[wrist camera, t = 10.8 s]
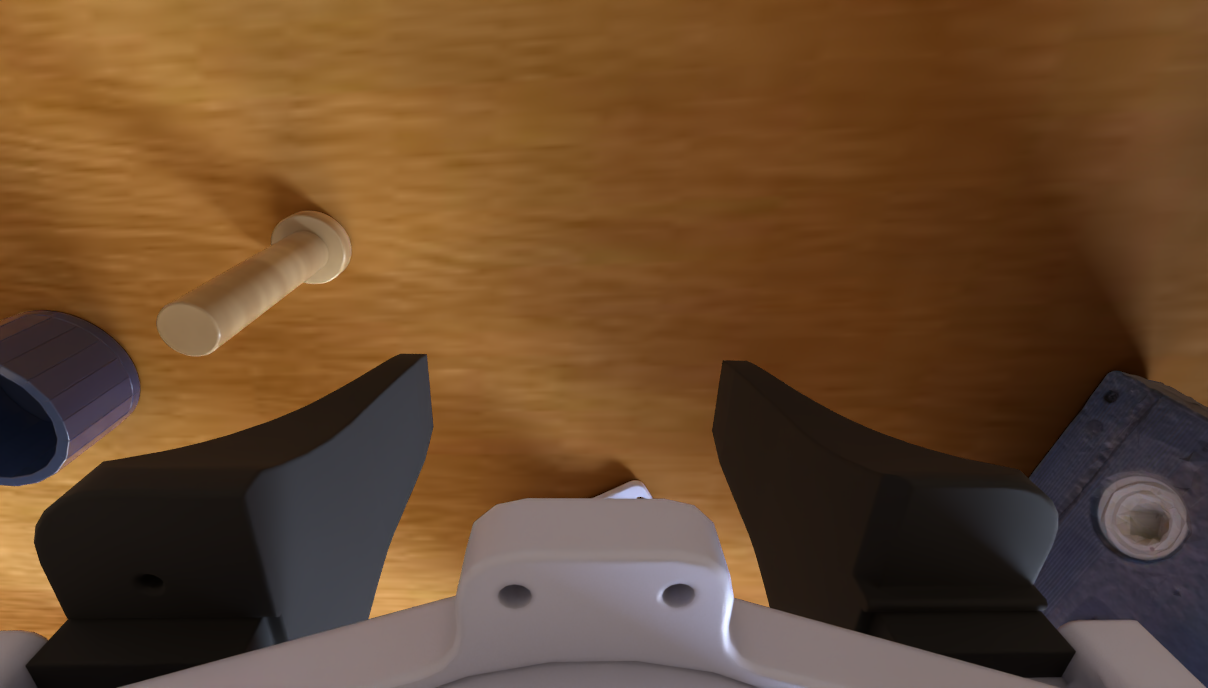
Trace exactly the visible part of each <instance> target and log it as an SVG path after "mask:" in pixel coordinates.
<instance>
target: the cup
mask: <svg viewBox="0 0 1208 688" xmlns="http://www.w3.org/2000/svg"><path fill="white" fill-rule="evenodd" d="M139 396H140V380H139V376H138V373H137V370H136V368H135V366H134V364H133V362H132V360H131V358H130V357H129V356H128V354H127V353H126V352H125V350H124V349H123V348H122V347H121V346H120V345H119V344H118V343H117V342H116V341H115V340H114V339H113V338H112V337H111V336H109V335H108V334H107V333H105V332H104V331H103V330H101V329H100V328H98V327H96V326H95V325H93V324H91V323H89V322H87V321H85V320H83V319H80V318H78V317H75V316H72V315H69V314H65V313H61V312H56V311H46V310H38V311H28V312H23V313H20V314H17V315H14V316H12V317H9V318H6V319H3V320H1V321H0V485H5V486H21V485H27V484H33V483H38V482H41V481H43V480H45V479H46V478H48V477H50V476H52V475H54V474H56V473H57V472H58V471H60V470H61V469H62V468H64V467H65V466H66V465H67V464H69V463H70V462H71V461H73V460H74V459H75V458H77V457H78V456H79V455H80V454H82V453H83V452H84V451H86V450H87V449H88V448H89V447H91V446H92V445H93V444H95V443H96V442H97V441H99V440H100V439H101V438H102V437H104V436H105V435H106V434H108V433H109V432H110V431H111V430H113V429H114V428H115V427H117V426H118V425H119V424H120V423H121V422H122V421H123V420H125V419H126V418H127V417H128V416H129V415H130V414H131V413H132V412H133V410H134V409H135V407H136V405H137V403H138V400H139Z"/></svg>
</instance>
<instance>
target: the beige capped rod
mask: <svg viewBox="0 0 1208 688" xmlns="http://www.w3.org/2000/svg"><path fill="white" fill-rule="evenodd" d="M351 253H352V249H351V243H350V239H349V237H348V235H347V233H346V231H345V230H344V228H343V227H342V226H341V225H340V224H339V223H338V222H337V221H336V220H334V219H333V218H331V217H330V216H328V215H326V214H324V213H321V212H317V211H300V212H297V213H295V214H293V215H291V216H289V217H287V218H285V219H283V220H282V221H280V222H279V223H278V224H277V226H276V227H275V229H274V230H273V233H272V237H271V246H269V247H268V248H266V249H264V250H262V251H261V252H259V253H257V254H255V255H254V256H252V257H250V258H248V259H246V260H245V261H243V262H241V263H239V264H238V265H236V266H234V267H232V268H231V269H229V270H227V271H225V272H224V273H222V274H220V275H218V276H216V277H215V278H213V279H211V280H209V281H208V282H206V283H204V284H202V285H201V286H199V287H197V288H195V289H194V290H192V291H190V292H188V293H186V294H185V295H183V296H181V297H179V298H178V299H176V300H174V301H172V302H171V303H169V304H167V305H166V306H164V307H163V308H162V309H161V310H160V312H159V314H158V316H157V321H156V324H157V330H158V332H159V334H160V336H161V338H162V339H163V341H164V342H165V343H166V344H167V345H168V346H169V347H171V348H172V349H174V350H175V351H177V352H179V353H182V354H184V355H188V356H205V355H208V354H210V353H212V352H213V351H215V350H216V349H217V348H219V347H220V346H221V345H223V344H224V343H225V342H226V341H228V340H229V339H230V338H232V337H233V336H234V335H236V334H237V333H238V332H239V331H241V330H242V329H243V328H245V327H246V326H247V325H249V324H250V323H251V322H252V321H254V320H255V319H256V318H258V317H259V316H260V315H261V314H263V313H264V312H265V311H267V310H268V309H269V308H271V307H272V306H273V305H274V304H276V303H277V302H278V301H280V300H281V299H282V298H284V297H285V296H286V295H287V294H289V293H290V292H291V291H293V290H294V289H295V288H297V287H298V286H299V285H300V284H302V283H303V282H304V283H309V284H322V283H326V282H329V281H331V280H333V279H334V278H336V277H337V276H338V275H339V274H340V273H341V272H342V271H344V270H345V268H346V267H347V266H348V264H349V262H350V259H351Z"/></svg>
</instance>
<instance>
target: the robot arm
mask: <svg viewBox="0 0 1208 688" xmlns="http://www.w3.org/2000/svg"><path fill="white" fill-rule="evenodd" d="M432 430H433V417H432V406H431V395H430V384H429V373H428V362H427V354H399V355H397V356H395V357H393V358H391V359H389V360H387V361H386V362H384V363H382V364H381V365H379V366H377V367H376V368H374V369H372V370H371V371H369V372H367V373H366V374H364V375H362V376H361V377H359V378H357V379H355V380H354V381H352V382H350V383H349V384H347V385H345V386H343V387H341V388H340V389H338V390H336V391H334V392H332V393H330V394H328V395H327V396H325V397H323V398H321V399H319V400H317V401H315V402H313V403H311V404H309V405H307V406H305V407H303V408H301V409H298V410H296V411H294V412H291V413H289V414H287V415H284V416H282V417H279V418H277V419H274V420H272V421H269V422H266V423H263V424H260V425H257V426H254V427H251V428H248V429H245V430H242V431H240V432H237V433H234V434H231V435H227V436H224V437H220V438H217V439H213V440H209V441H206V442H202V443H198V444H193V445H189V446H185V447H181V448H177V449H172V450H167V451H162V452H157V453H151V454H146V455H140V456H134V457H129V458H123V459H118V460H111V461H104V462H102V463H101V464H100V465H99V466H97V467H96V468H95V469H94V470H93V471H91V472H90V473H89V474H88V475H87V476H85V477H84V478H83V479H82V480H81V481H79V482H78V483H77V484H76V485H75V486H73V487H72V488H71V489H70V490H69V491H67V492H66V493H65V494H64V495H63V496H61V497H60V498H59V499H58V500H57V501H55V502H54V503H53V504H52V505H51V506H50V507H48V508H47V509H46V510H45V511H44V512H43V514H42V516H41V517H40V519H39V521H38V522H37V524H36V527H35V537H34V544H35V548H36V551H37V554H38V557H39V561H40V564H41V566H42V568H43V570H44V572H45V574H46V576H47V578H48V580H49V582H50V584H51V586H52V588H53V590H54V592H55V594H56V596H57V599H58V601H59V603H60V605H61V607H62V609H63V611H64V613H65V615H66V617H67V619H68V620H67V621H66V622H65V623H64V624H63V625H62V626H61V628H60V629H59V630H58V631H57V632H56V633H55V634H54V635H53V636H52V637H51V638H50V639H49V641H48V640H47V639H46V638H45V637H43V636H41V635H39V634H37V633H35V632H29V631H22V630H13V631H0V688H1206V687H1205V686H1204V685H1203V684H1202V683H1201V682H1200V681H1199V680H1198V679H1197V678H1196V677H1195V676H1194V675H1192V674H1191V673H1190V672H1189V671H1188V670H1187V669H1186V668H1185V667H1184V666H1183V665H1182V664H1181V663H1180V662H1179V661H1178V660H1177V659H1176V658H1175V657H1174V656H1173V655H1172V654H1171V653H1170V652H1169V651H1168V650H1167V649H1166V648H1165V647H1164V646H1162V645H1161V644H1160V643H1159V642H1158V641H1157V640H1156V639H1155V638H1154V637H1153V636H1152V635H1151V634H1150V633H1149V632H1148V631H1147V630H1146V629H1145V628H1144V627H1143V626H1142V625H1141V624H1140V623H1139V622H1138V621H1135V620H1077V621H1071V622H1067V623H1066V624H1064V625H1062V626H1060V627H1059V628H1058V629H1056V628H1055V627H1054V626H1053V624H1052V623H1051V622H1050V621H1049V620H1048V619H1047V618H1046V616H1045V615H1044V614H1043V613H1042V612H1041V611H1045V610H1046V608H1047V606H1048V603H1047V599H1046V598H1045V597H1044V596H1043V595H1042V594H1041V593H1040V592H1039V590H1038V589H1037V588H1036V587H1035V586H1034V585H1033V584H1034V582H1035V580H1036V578H1037V576H1038V574H1039V572H1040V570H1041V568H1042V566H1043V564H1044V562H1045V560H1046V558H1047V556H1048V554H1049V552H1050V550H1051V548H1052V546H1053V543H1054V540H1055V537H1056V534H1057V531H1058V512H1057V510H1056V507H1055V505H1054V503H1053V501H1052V500H1051V499H1050V498H1049V497H1048V496H1047V495H1046V494H1045V493H1044V492H1043V491H1042V490H1041V489H1040V488H1038V487H1037V486H1036V485H1035V484H1034V483H1033V482H1032V481H1031V480H1030V479H1029V478H1028V477H1026V476H1025V475H1024V474H1023V473H1022V472H1021V471H1020V470H1018V469H1014V468H1009V467H1004V466H999V465H994V464H989V463H984V462H979V461H974V460H969V459H964V458H960V457H956V456H952V455H948V454H945V453H941V452H937V451H933V450H930V449H927V448H923V447H920V446H917V445H913V444H910V443H907V442H905V441H902V440H899V439H896V438H893V437H890V436H888V435H885V434H882V433H880V432H877V431H875V430H872V429H870V428H867V427H865V426H863V425H861V424H858V423H856V422H854V421H852V420H849V419H847V418H845V417H843V416H841V415H839V414H837V413H835V412H833V411H831V410H830V409H828V408H826V407H824V406H822V405H820V404H819V403H817V402H815V401H813V400H811V399H810V398H808V397H806V396H805V395H803V394H801V393H800V392H798V391H796V390H795V389H793V388H792V387H790V386H788V385H787V384H785V383H784V382H782V381H781V380H779V379H777V378H776V377H774V376H773V375H771V374H770V373H768V372H766V371H765V370H763V369H761V368H760V367H758V366H756V365H755V364H753V363H751V362H748V361H728V360H723V362H722V369H721V375H720V382H719V388H718V395H717V402H716V408H715V415H714V422H713V428H712V432H713V436H714V441H715V445H716V450H717V454H718V458H719V462H720V465H721V467H722V470H723V472H724V475H725V477H726V480H727V482H728V485H729V487H730V490H731V492H732V495H733V497H734V500H735V502H736V504H737V507H738V509H739V512H740V514H741V517H742V519H743V521H744V524H745V526H746V529H747V531H748V533H749V536H750V539H751V542H752V545H753V548H754V551H755V554H756V558H757V561H758V565H759V568H760V572H761V576H762V579H763V583H764V586H765V590H766V594H767V598H768V602H769V606H770V608H769V607H765V606H762V605H758V604H754V603H751V602H747V601H743V600H740V599H736V598H734V596H733V590H732V584H731V578H730V573H729V570H728V567H727V564H726V561H725V558H724V554H723V551H722V548H721V545H720V542H719V539H718V535H717V532H716V529H715V526H714V523H713V522H712V521H711V520H710V519H709V518H708V517H706V516H705V515H704V514H703V513H702V512H701V511H700V510H699V509H698V508H697V507H695V506H694V505H690V504H686V503H681V502H677V501H672V500H668V499H653V498H652V496H651V495H650V493H649V491H648V490H647V488H646V486H645V485H644V484H643V483H642V482H640V481H636V480H634V481H630V482H628V483H625V484H623V485H621V486H619V487H616V488H614V489H612V490H610V491H607V492H605V493H603V494H601V495H598V496H596V497H594V498H526V499H521V500H516V501H511V502H506V503H501V504H497V505H495V506H494V507H492V508H491V509H490V510H489V511H487V512H486V513H485V514H484V515H482V516H481V517H480V518H479V519H477V520H476V521H475V522H474V523H473V527H472V530H471V533H470V537H469V540H468V544H467V548H466V552H465V557H464V561H463V566H462V570H461V575H460V579H459V584H458V588H457V592H456V596H453V597H449V598H445V599H442V600H438V601H434V602H431V603H427V604H423V605H419V606H416V607H412V608H408V609H405V610H401V611H397V612H394V613H390V614H386V615H383V616H379V617H375V618H372V619H368V618H369V615H370V611H371V607H372V603H373V600H374V596H375V592H376V589H377V585H378V582H379V578H380V575H381V572H382V568H383V565H384V561H385V558H386V555H387V551H388V548H389V546H390V543H391V540H392V538H393V535H394V532H395V530H396V528H397V525H398V523H399V521H400V518H401V516H402V514H403V511H404V509H405V507H406V504H407V502H408V500H409V497H410V495H411V493H412V490H413V488H414V486H415V483H416V481H417V478H418V476H419V474H420V471H421V469H422V466H423V464H424V461H425V458H426V454H427V451H428V447H429V443H430V439H431V435H432ZM637 497H644V498H643V499H636V498H637Z"/></svg>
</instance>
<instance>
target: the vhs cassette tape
mask: <svg viewBox="0 0 1208 688" xmlns="http://www.w3.org/2000/svg"><path fill="white" fill-rule="evenodd" d="M1029 479H1030V480H1031V481H1032V482H1033V483H1034V484H1035V485H1036V486H1037V487H1038V488H1040V489H1041V490H1042V491H1043V492H1044V493H1045V494H1046V495H1047V496H1048V497H1049V498H1050V499H1051V500H1052V501H1053V503H1054V505H1055V507H1056V510H1057V512H1058V531H1057V534H1056V537H1055V540H1054V543H1053V546H1052V548H1051V550H1050V552H1049V554H1048V556H1047V558H1046V560H1045V562H1044V564H1043V566H1042V568H1041V570H1040V572H1039V574H1038V576H1037V578H1036V580H1035V582H1034V584H1033V585H1034V586H1035V587H1036V588H1037V589H1038V590H1039V592H1040V593H1041V594H1042V595H1043V596H1044V597H1045V598H1046V599H1047V603H1048V606H1047V608H1046V610H1045V611H1041V612H1042V613H1043V614H1044V615H1045V616H1046V618H1047V619H1048V620H1049V621H1050V622H1051V623H1052V624H1053V626H1054V627H1055V628H1056V629H1058V628H1059V627H1060V626H1062V625H1064V624H1066V623H1067V622H1071V621H1077V620H1135V621H1138V622H1139V623H1140V624H1141V625H1142V626H1143V627H1144V628H1145V629H1146V630H1147V631H1148V632H1149V633H1150V634H1151V635H1152V636H1153V637H1154V638H1155V639H1156V640H1157V641H1158V642H1159V643H1160V644H1161V645H1162V646H1164V647H1165V648H1166V649H1167V650H1168V651H1169V652H1170V653H1171V654H1172V655H1173V656H1174V657H1175V658H1176V659H1177V660H1178V661H1179V662H1180V663H1181V664H1182V665H1183V666H1184V667H1185V668H1186V669H1187V670H1188V671H1189V672H1190V673H1191V674H1192V675H1194V676H1195V677H1196V678H1197V679H1198V680H1199V681H1200V682H1201V683H1202V684H1203V685H1204V686H1205V687H1206V688H1208V407H1206V406H1204V405H1202V404H1200V403H1198V402H1196V401H1195V400H1194V399H1193V398H1191V397H1188V396H1185V395H1184V394H1182V393H1181V392H1179V391H1177V390H1176V389H1174V388H1172V387H1170V386H1166V385H1164V384H1163V383H1161V382H1156V381H1151V380H1147V379H1145V378H1143V377H1140V376H1136V375H1130V374H1127V373H1124V372H1121V371H1112V372H1110V373H1108V374H1107V375H1106V377H1105V378H1104V379H1103V381H1102V382H1101V383H1100V385H1099V386H1098V387H1097V389H1096V390H1095V391H1094V393H1093V394H1092V395H1091V397H1090V398H1089V400H1088V401H1087V403H1086V404H1085V406H1084V408H1083V409H1082V410H1081V411H1080V413H1079V414H1078V415H1077V416H1076V417H1075V419H1074V420H1073V421H1072V422H1071V423H1070V425H1069V426H1068V427H1067V429H1066V430H1065V431H1064V433H1063V434H1062V435H1061V437H1060V438H1059V439H1058V441H1057V442H1056V443H1055V444H1054V446H1053V447H1052V448H1051V450H1050V451H1049V452H1048V454H1047V455H1046V456H1045V458H1044V459H1043V460H1042V461H1041V463H1040V464H1039V465H1038V467H1037V468H1036V469H1035V470H1034V472H1033V473H1032V474H1031V476H1030V477H1029Z"/></svg>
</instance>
